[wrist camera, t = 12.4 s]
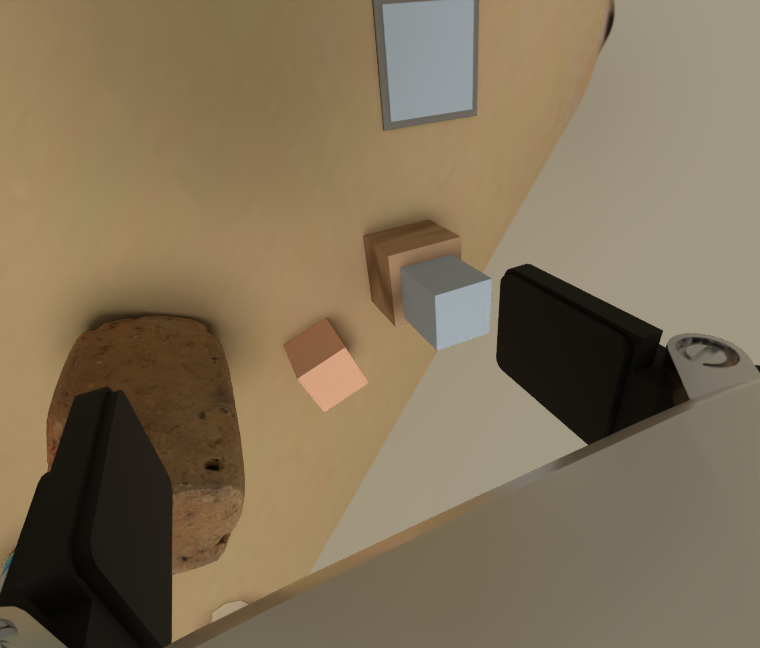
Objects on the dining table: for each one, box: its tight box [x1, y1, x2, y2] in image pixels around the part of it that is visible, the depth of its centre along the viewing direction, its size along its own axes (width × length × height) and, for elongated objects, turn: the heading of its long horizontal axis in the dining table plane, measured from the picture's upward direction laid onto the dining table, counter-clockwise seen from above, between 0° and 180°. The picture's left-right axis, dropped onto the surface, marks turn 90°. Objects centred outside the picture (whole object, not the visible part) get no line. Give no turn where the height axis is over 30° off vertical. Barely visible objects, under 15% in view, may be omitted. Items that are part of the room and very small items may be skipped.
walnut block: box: [363, 220, 461, 327], centre depth 41 cm, size 7×7×6 cm
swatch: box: [372, 0, 479, 131], centre depth 35 cm, size 9×9×1 cm
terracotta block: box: [284, 318, 368, 412], centre depth 41 cm, size 5×5×6 cm
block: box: [46, 315, 245, 575], centre depth 29 cm, size 11×8×20 cm
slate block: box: [400, 254, 492, 351], centre depth 36 cm, size 5×5×6 cm
